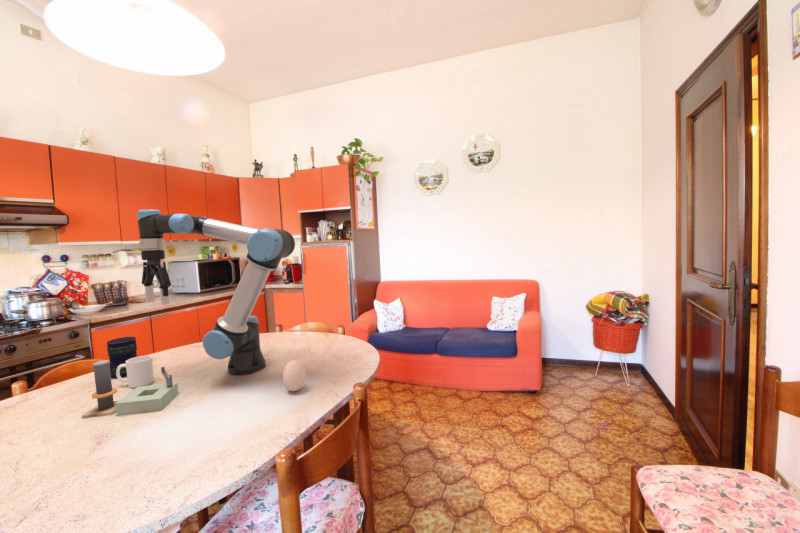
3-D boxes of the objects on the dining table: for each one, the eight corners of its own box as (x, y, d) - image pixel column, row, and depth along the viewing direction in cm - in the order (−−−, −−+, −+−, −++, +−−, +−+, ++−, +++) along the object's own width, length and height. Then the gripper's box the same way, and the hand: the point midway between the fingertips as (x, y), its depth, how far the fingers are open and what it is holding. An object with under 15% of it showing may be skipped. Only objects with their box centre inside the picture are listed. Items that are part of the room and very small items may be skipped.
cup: (149, 386, 135) (147, 361, 134) (112, 391, 131) (109, 365, 130) (157, 378, 142) (155, 354, 142) (122, 382, 139) (120, 358, 138)
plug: (122, 401, 120) (117, 358, 119) (111, 410, 114) (105, 364, 113) (101, 404, 119) (96, 360, 118) (88, 413, 113) (83, 366, 111)
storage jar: (104, 377, 146) (100, 342, 144) (130, 368, 155) (126, 335, 153) (119, 380, 142) (115, 344, 141) (144, 371, 151) (141, 337, 150)
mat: (129, 401, 122) (129, 399, 122) (113, 414, 113) (113, 412, 113) (99, 404, 120) (99, 402, 120) (81, 418, 111) (81, 415, 111)
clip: (173, 385, 123) (172, 375, 123) (167, 387, 122) (166, 376, 122) (166, 376, 133) (165, 366, 132) (160, 377, 132) (159, 367, 131)
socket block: (178, 393, 127) (177, 382, 127) (161, 410, 115) (160, 398, 114) (138, 397, 125) (137, 386, 125) (116, 415, 112) (115, 403, 112)
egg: (310, 389, 127) (308, 359, 126) (290, 397, 121) (288, 366, 120) (299, 384, 132) (297, 355, 131) (279, 391, 126) (277, 361, 125)
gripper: (128, 250, 139) (133, 302, 141) (155, 249, 125) (161, 307, 127) (150, 249, 145) (154, 299, 147) (178, 248, 131) (183, 304, 133)
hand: (157, 303), depth 137 cm, fingers open, 13 cm apart
